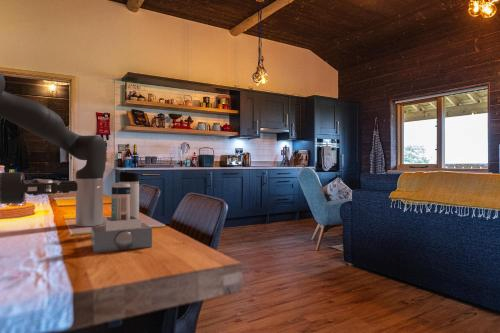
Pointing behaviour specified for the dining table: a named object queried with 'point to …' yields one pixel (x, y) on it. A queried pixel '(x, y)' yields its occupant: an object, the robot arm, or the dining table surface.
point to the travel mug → (132, 190)
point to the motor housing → (120, 235)
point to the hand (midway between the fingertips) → (76, 185)
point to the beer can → (120, 201)
